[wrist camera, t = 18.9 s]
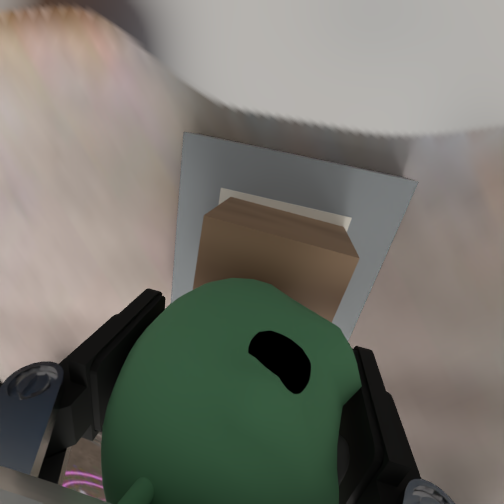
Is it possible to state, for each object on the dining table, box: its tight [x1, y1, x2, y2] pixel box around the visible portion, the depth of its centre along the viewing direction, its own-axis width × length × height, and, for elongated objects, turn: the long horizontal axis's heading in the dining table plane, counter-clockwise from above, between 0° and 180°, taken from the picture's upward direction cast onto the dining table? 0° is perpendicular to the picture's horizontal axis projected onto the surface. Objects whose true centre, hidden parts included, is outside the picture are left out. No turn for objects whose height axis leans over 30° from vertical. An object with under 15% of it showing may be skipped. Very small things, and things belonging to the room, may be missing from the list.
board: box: [171, 132, 418, 341], centre depth 19 cm, size 14×14×3 cm
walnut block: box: [193, 197, 360, 323], centre depth 16 cm, size 7×7×5 cm
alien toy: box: [101, 278, 362, 504], centre depth 8 cm, size 7×8×10 cm
